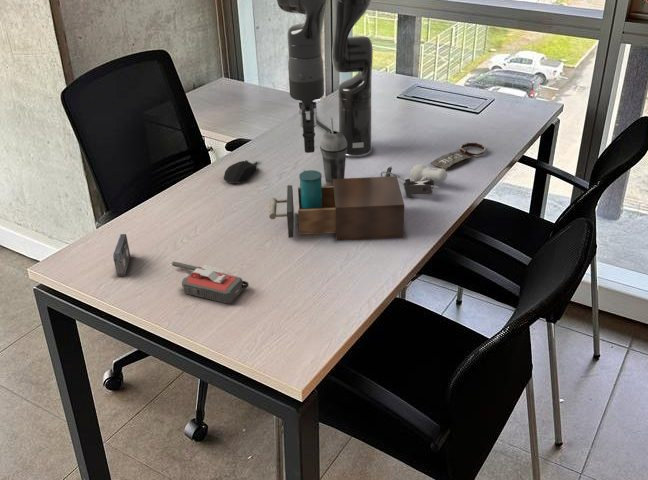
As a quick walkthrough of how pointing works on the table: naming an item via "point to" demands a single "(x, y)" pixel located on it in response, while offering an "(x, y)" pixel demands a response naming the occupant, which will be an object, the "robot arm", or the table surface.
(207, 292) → the walkie-talkie
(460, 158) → the keychain
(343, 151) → the beverage cup
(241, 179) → the gaming mouse
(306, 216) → the drawer
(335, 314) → the table surface
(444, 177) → the clip-on lamp
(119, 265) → the mini dv tape
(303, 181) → the tin
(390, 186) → the cabinet
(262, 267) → the table surface
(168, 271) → the table surface
